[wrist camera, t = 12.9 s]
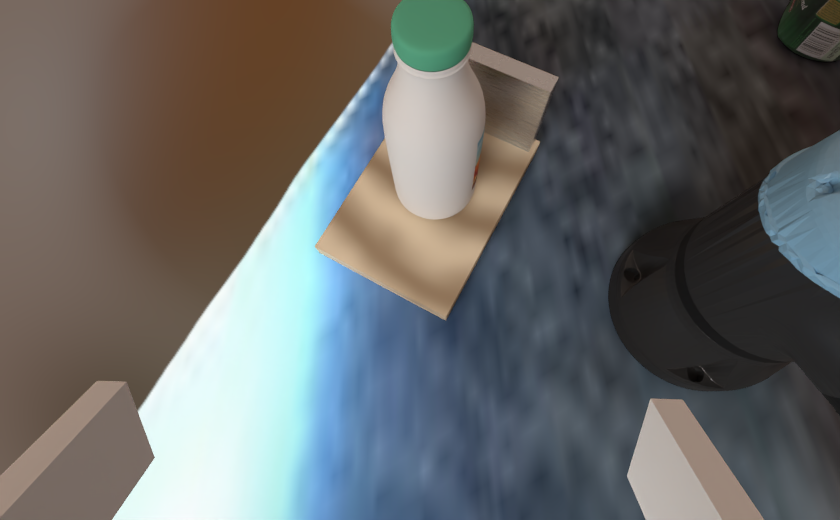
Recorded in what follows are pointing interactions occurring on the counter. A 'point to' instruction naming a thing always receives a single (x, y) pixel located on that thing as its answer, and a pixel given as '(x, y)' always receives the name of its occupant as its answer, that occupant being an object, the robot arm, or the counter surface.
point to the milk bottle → (433, 108)
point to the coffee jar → (812, 29)
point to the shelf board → (422, 229)
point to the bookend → (512, 96)
